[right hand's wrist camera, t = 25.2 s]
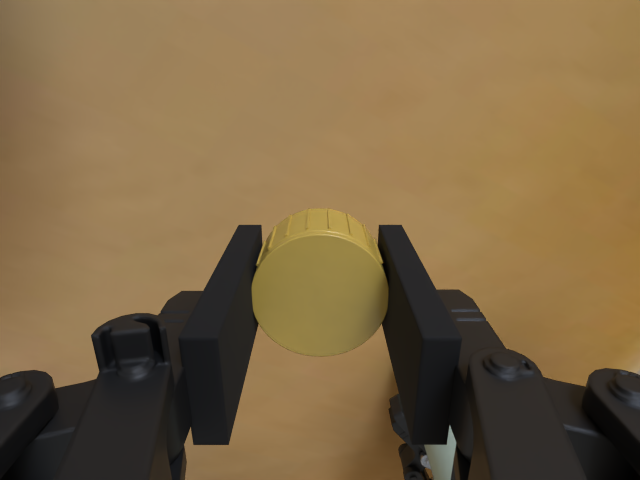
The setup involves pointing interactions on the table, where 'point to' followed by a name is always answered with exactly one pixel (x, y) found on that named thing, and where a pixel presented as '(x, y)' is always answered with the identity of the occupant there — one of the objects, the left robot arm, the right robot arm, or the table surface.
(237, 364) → the right robot arm
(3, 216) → the table surface
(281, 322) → the cap
